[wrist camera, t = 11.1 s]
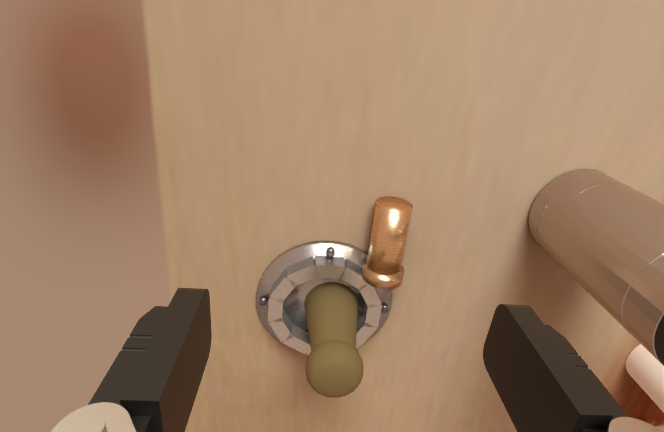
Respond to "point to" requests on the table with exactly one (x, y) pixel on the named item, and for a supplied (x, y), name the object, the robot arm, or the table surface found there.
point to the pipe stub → (387, 243)
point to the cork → (333, 339)
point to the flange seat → (303, 275)
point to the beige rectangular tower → (647, 373)
